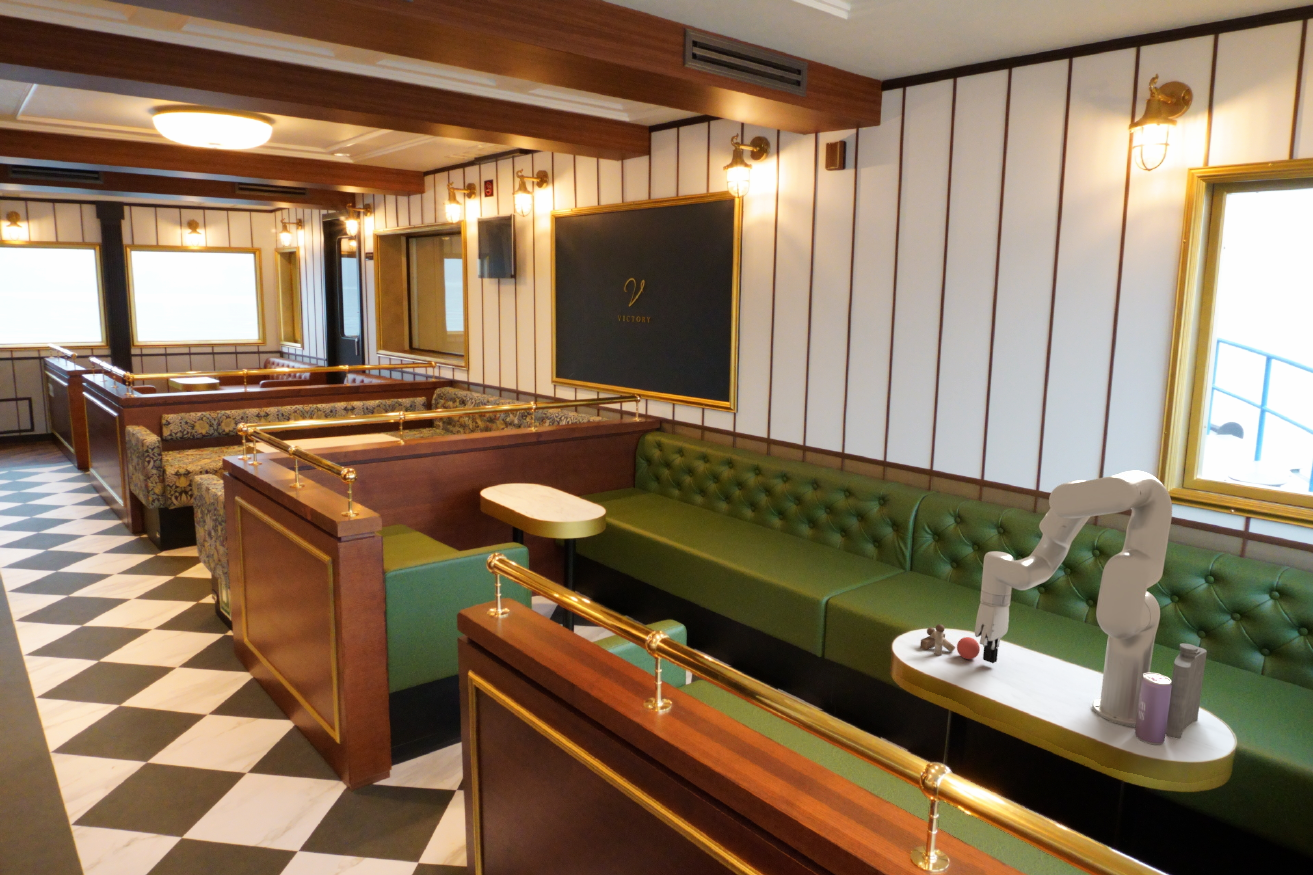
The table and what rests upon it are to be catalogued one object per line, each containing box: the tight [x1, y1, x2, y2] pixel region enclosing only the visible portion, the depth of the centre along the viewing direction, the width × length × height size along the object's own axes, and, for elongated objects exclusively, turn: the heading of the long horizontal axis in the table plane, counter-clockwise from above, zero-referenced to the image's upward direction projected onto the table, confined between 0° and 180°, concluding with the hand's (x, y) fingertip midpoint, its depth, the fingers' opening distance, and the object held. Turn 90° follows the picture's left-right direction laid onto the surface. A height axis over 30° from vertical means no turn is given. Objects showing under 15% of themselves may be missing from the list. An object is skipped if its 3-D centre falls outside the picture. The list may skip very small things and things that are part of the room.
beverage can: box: [1134, 672, 1172, 746], centre depth 186 cm, size 6×6×15 cm
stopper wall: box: [919, 632, 946, 651], centre depth 238 cm, size 2×10×2 cm, turn 130°
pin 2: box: [926, 627, 956, 653], centre depth 235 cm, size 2×2×9 cm
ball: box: [956, 636, 981, 660], centre depth 229 cm, size 6×6×6 cm
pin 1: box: [933, 623, 945, 657], centre depth 231 cm, size 2×2×9 cm
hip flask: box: [1165, 642, 1208, 739], centre depth 193 cm, size 16×4×20 cm, turn 132°
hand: (989, 660), depth 224 cm, fingers closed
